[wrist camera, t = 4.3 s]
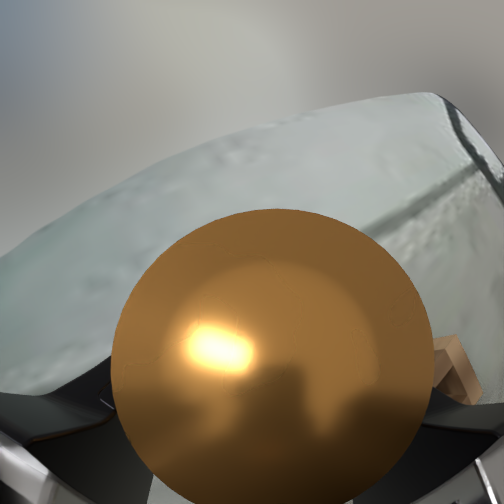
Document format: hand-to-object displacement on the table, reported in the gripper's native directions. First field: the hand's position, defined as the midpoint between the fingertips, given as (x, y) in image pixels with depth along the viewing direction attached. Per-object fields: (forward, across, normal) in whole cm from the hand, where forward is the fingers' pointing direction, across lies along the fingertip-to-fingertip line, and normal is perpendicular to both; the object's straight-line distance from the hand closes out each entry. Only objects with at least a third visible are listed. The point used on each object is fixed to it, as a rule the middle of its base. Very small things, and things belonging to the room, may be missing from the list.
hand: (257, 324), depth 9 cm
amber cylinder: (+4, 0, +6) cm, 7 cm away
